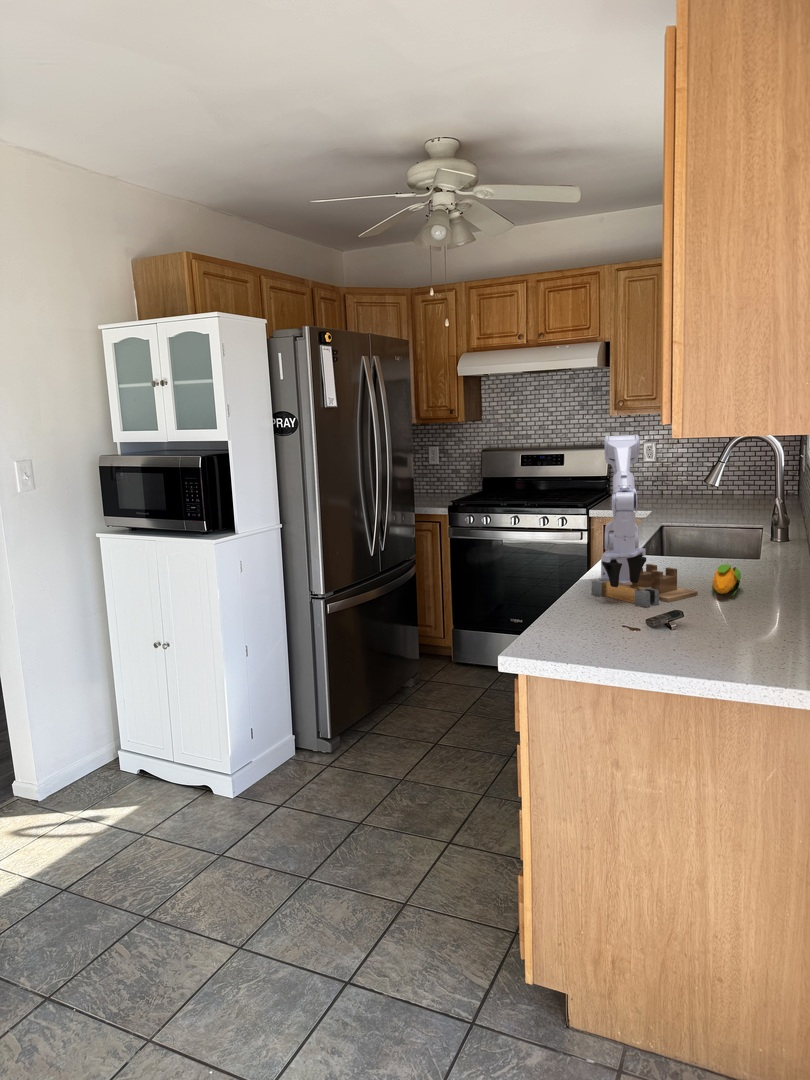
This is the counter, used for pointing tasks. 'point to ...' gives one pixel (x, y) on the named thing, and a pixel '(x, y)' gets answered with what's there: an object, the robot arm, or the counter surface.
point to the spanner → (626, 592)
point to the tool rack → (663, 583)
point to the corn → (726, 579)
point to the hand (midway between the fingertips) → (624, 584)
